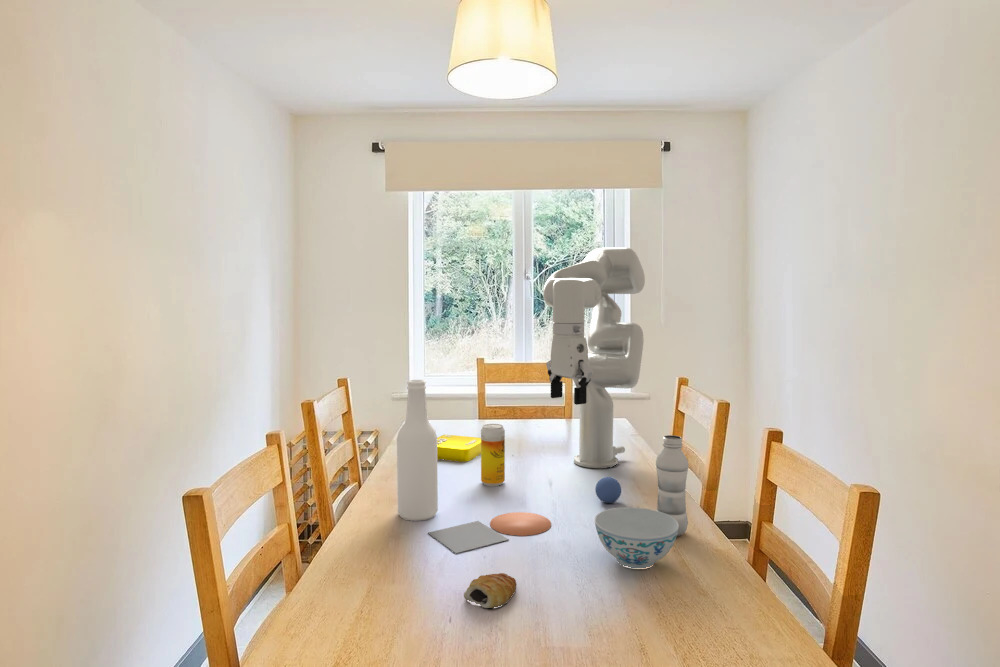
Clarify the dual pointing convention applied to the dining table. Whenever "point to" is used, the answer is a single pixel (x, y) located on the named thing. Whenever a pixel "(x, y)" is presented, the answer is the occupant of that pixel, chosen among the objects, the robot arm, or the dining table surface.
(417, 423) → the alcohol
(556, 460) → the dining table surface
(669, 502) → the plastic bottle
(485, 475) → the beer can
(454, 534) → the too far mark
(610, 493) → the ball
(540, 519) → the orange disc
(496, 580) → the pastry
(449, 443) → the element tile
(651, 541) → the chinaware
